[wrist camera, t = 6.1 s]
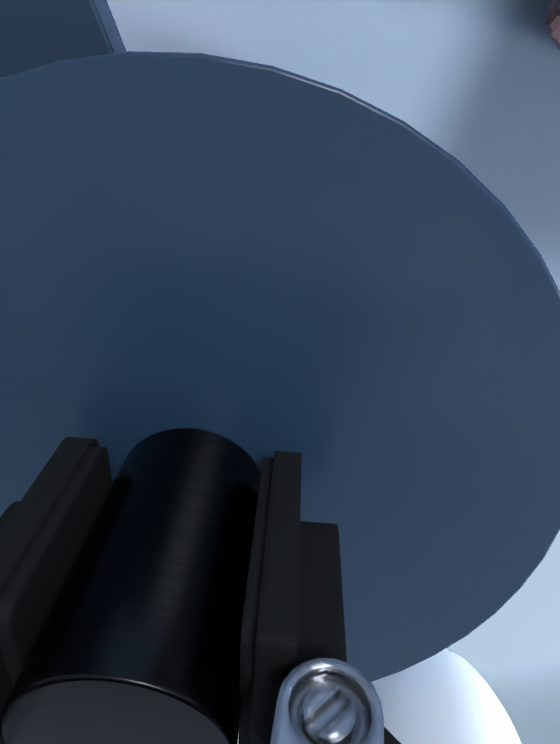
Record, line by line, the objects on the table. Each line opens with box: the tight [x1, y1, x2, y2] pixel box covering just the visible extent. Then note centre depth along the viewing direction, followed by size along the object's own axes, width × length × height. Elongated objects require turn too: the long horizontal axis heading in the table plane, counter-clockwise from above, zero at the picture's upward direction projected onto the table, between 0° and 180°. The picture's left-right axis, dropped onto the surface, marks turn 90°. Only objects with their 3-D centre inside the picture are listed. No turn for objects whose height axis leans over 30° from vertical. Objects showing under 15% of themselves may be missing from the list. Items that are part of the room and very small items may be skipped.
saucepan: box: [0, 0, 126, 78], centre depth 17 cm, size 15×20×8 cm
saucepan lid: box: [0, 51, 560, 744], centre depth 9 cm, size 16×16×6 cm
